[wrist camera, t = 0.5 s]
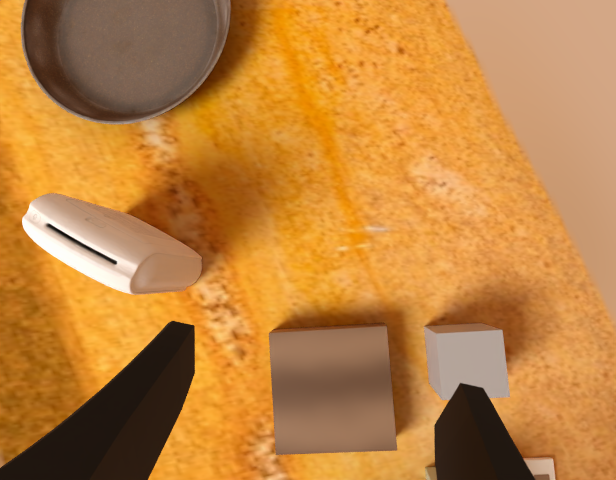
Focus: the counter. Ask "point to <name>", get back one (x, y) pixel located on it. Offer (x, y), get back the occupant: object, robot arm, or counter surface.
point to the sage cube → (431, 473)
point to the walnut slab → (332, 389)
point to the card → (541, 468)
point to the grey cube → (466, 358)
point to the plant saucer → (122, 53)
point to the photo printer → (111, 246)
